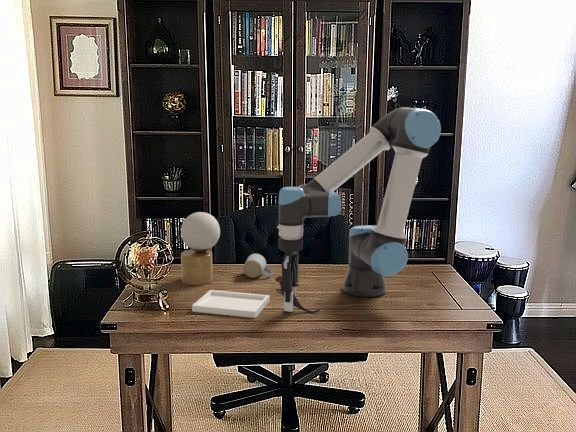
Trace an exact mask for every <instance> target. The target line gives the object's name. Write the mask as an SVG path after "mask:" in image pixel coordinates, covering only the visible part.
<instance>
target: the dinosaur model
mask: <svg viewBox="0 0 576 432" xmlns="http://www.w3.org/2000/svg"><path fill="white" fill-rule="evenodd" d="M274 281H275V282H277V283H279V284H280V289H279V288H276V290H275V291H276V293H278V294H280V295H282V296H283V298H284V292H282V291H281V290H282V275H279V276H277V277H275V278H274ZM293 305H294V306H296V307H295V308H297V309H298V310H301V311H302V312H306V313H311V314H312V313H313V314H315V313H318V312H320V311H321V309H317V310H309V309H306V308H305V307H304V306H303V305H301V303H300V302H299V299H298V298H297V295H296V296H295V294H294V293H293ZM282 310H283V312H282V314H284V315H285V314H289V312H290V311H284V308H283V309H282Z"/></svg>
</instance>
